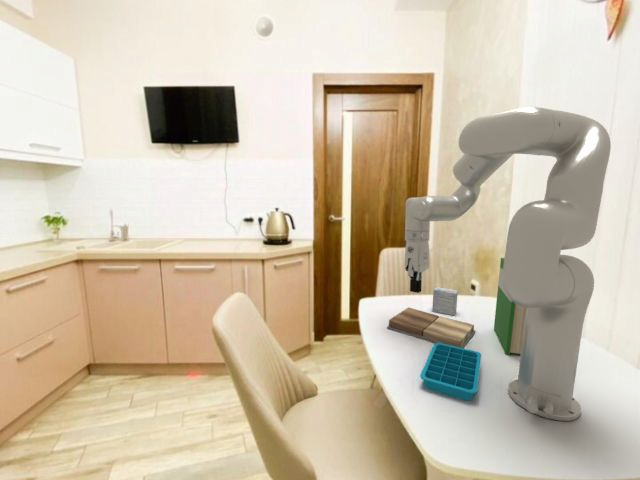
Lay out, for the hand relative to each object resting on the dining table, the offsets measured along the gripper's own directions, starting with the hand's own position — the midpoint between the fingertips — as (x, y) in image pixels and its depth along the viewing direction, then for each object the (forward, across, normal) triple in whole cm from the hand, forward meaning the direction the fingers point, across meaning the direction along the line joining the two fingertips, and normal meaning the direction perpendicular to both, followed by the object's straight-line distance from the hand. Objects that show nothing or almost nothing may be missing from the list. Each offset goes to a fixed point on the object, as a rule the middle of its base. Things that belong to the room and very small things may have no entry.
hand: (415, 291), depth 103 cm
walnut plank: (+11, 0, 0) cm, 11 cm away
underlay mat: (+12, 0, -5) cm, 13 cm away
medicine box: (+12, +20, -3) cm, 23 cm away
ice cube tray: (+14, -21, -18) cm, 31 cm away
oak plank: (+12, 0, -11) cm, 16 cm away
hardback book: (+13, +8, -27) cm, 31 cm away
